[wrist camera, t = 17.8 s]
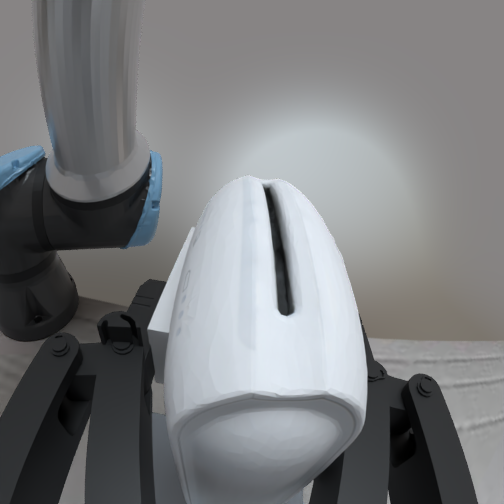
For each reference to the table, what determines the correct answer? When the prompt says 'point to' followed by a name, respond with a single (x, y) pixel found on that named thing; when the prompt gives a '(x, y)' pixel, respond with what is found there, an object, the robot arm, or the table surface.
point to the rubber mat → (173, 467)
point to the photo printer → (261, 349)
